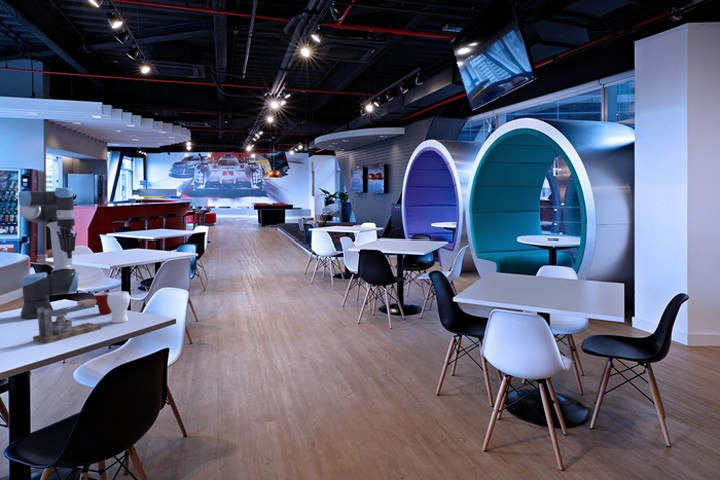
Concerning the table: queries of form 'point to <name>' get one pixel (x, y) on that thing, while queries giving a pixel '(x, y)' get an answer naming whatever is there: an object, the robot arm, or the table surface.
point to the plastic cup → (103, 303)
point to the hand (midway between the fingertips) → (68, 264)
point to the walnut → (60, 319)
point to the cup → (118, 305)
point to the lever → (74, 308)
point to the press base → (70, 334)
